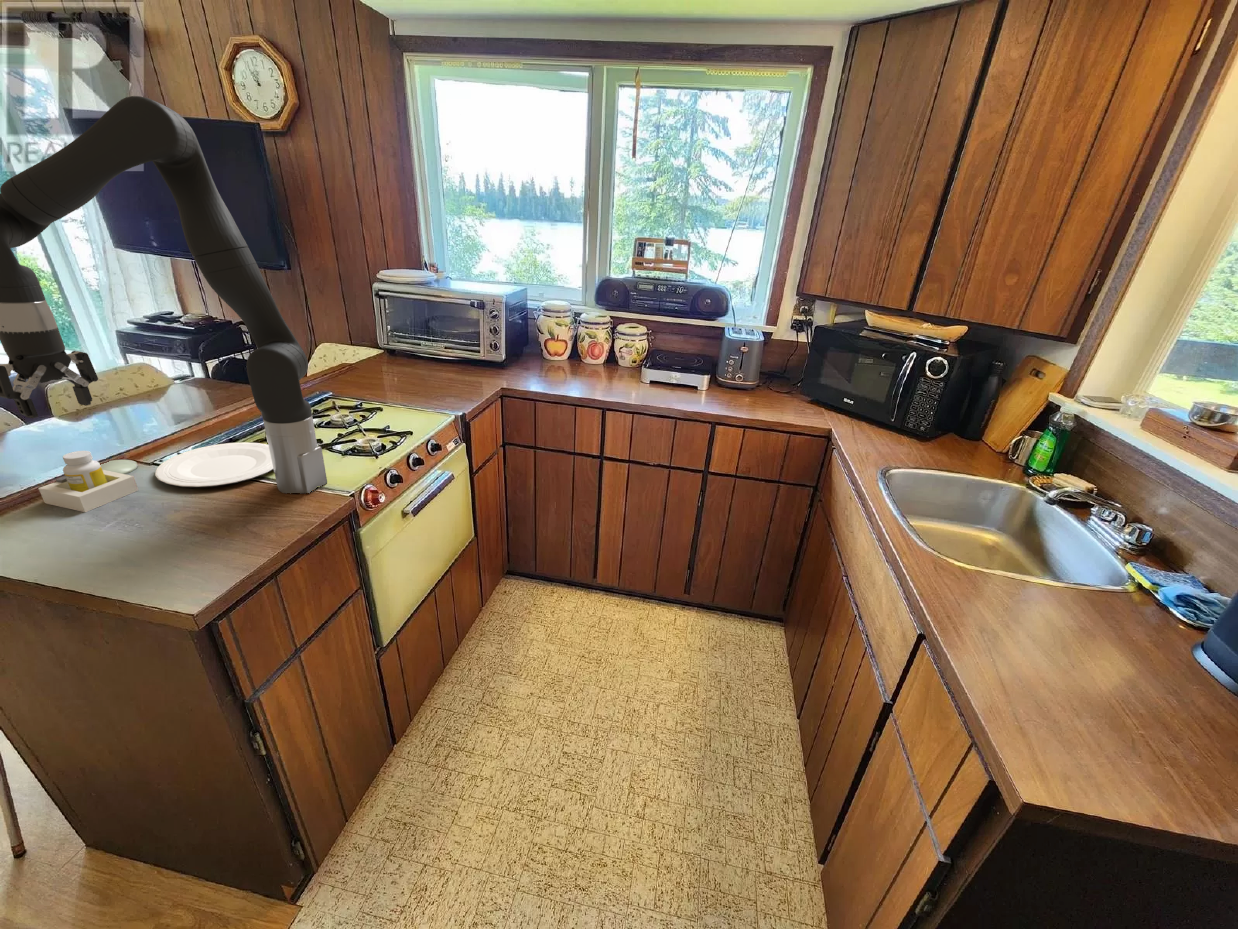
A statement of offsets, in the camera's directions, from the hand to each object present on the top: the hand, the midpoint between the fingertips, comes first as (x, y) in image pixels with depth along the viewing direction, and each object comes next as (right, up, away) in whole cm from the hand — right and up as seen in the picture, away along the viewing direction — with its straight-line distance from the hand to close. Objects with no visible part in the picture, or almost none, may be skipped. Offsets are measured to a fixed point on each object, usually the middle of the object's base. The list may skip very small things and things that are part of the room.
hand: (59, 410), depth 97 cm
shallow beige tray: (-2, -17, +8) cm, 19 cm away
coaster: (-9, -12, +18) cm, 23 cm away
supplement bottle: (-2, -17, +8) cm, 19 cm away
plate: (+13, -12, +25) cm, 30 cm away
